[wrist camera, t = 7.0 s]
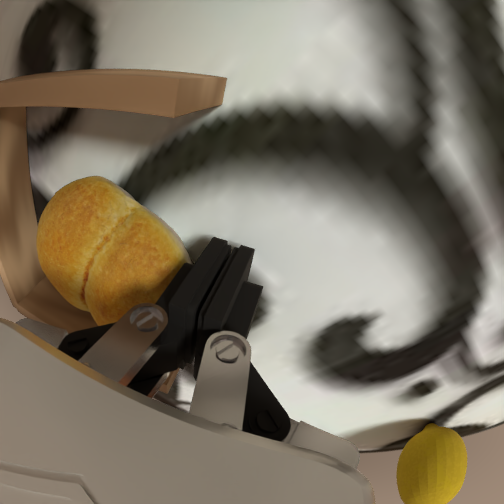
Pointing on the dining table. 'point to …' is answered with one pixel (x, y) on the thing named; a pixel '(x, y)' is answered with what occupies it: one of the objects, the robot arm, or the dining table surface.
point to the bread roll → (106, 249)
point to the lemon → (432, 466)
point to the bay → (18, 176)
